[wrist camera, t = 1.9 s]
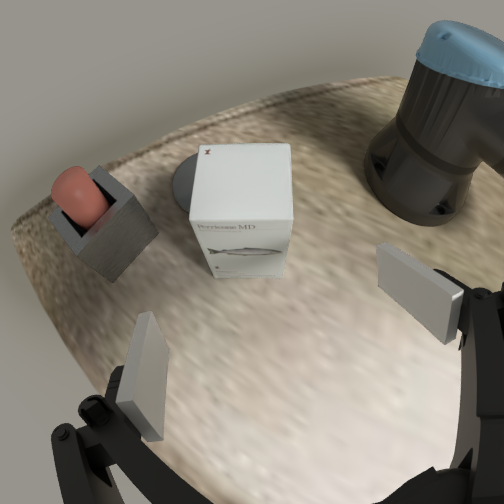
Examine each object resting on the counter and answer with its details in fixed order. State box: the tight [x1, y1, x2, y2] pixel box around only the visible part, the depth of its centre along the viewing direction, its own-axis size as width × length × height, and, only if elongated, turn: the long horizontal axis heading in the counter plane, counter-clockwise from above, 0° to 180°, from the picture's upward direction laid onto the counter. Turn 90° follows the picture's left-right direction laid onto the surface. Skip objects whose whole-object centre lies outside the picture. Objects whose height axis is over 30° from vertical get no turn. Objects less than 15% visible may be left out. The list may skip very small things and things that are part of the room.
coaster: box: [172, 153, 198, 214], centre depth 36 cm, size 10×10×1 cm
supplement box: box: [189, 143, 293, 279], centre depth 27 cm, size 7×7×13 cm
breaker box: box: [48, 166, 159, 283], centre depth 30 cm, size 8×7×8 cm
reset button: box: [51, 166, 112, 233], centre depth 26 cm, size 4×4×7 cm
